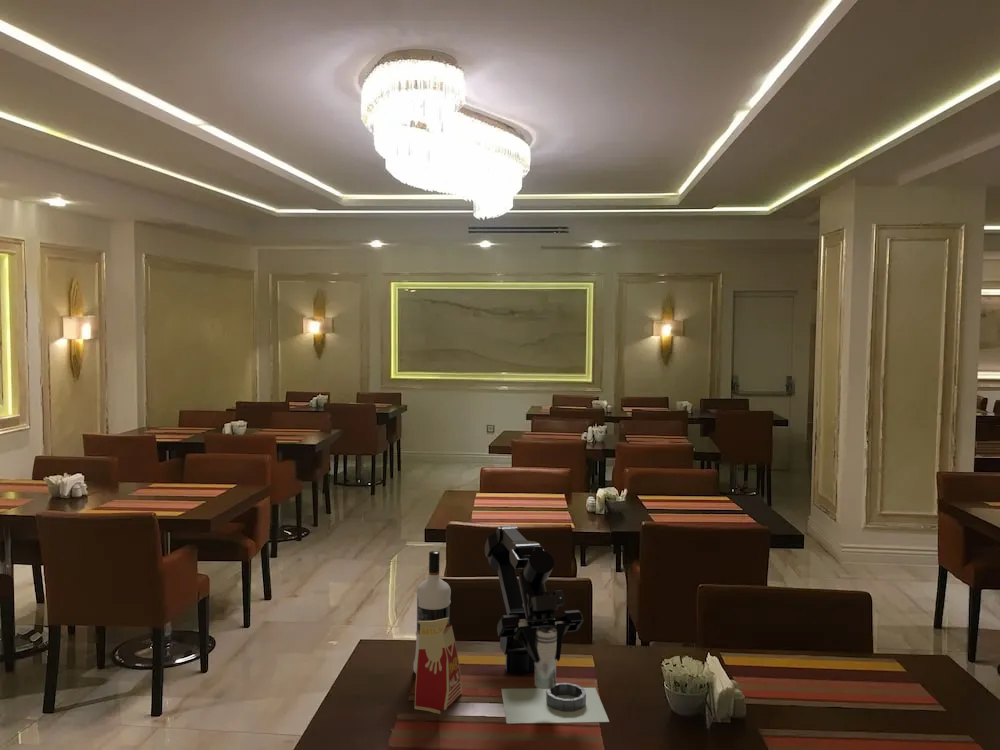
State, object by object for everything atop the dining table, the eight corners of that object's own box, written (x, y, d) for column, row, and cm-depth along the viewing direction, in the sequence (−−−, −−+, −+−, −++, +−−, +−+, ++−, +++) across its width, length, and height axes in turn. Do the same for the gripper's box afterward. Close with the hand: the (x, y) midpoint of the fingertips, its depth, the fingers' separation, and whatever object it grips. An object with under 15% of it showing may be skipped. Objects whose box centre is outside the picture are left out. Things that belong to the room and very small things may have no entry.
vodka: (448, 681, 192) (450, 558, 190) (410, 679, 193) (411, 556, 191) (453, 665, 201) (455, 547, 199) (417, 663, 202) (418, 545, 200)
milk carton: (462, 697, 184) (463, 612, 183) (446, 716, 175) (448, 626, 174) (425, 690, 187) (427, 606, 186) (408, 708, 178) (409, 620, 177)
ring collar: (549, 711, 176) (549, 700, 175) (544, 693, 184) (544, 683, 184) (588, 711, 176) (588, 700, 176) (581, 693, 185) (581, 682, 185)
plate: (506, 728, 170) (506, 723, 170) (501, 693, 186) (501, 688, 186) (609, 727, 172) (609, 721, 172) (595, 692, 188) (595, 687, 188)
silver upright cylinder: (537, 690, 173) (538, 635, 172) (531, 680, 178) (533, 627, 177) (558, 688, 174) (559, 634, 173) (552, 678, 178) (554, 626, 178)
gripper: (501, 580, 176) (513, 649, 166) (582, 575, 180) (598, 642, 170) (492, 602, 184) (503, 670, 174) (569, 597, 188) (584, 663, 179)
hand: (547, 661), depth 174 cm, fingers closed on silver upright cylinder, 5 cm apart
